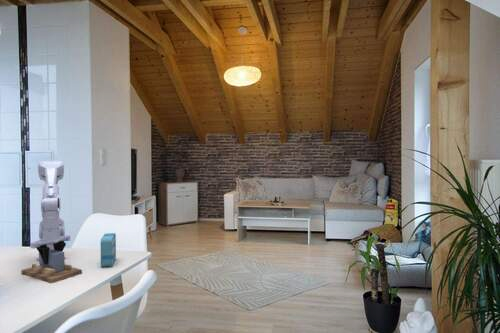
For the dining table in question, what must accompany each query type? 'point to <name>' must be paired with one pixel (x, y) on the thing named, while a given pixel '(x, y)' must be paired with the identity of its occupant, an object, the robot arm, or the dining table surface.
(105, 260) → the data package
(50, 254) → the slate blue book
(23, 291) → the dining table surface
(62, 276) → the shelf board
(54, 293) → the dining table surface
